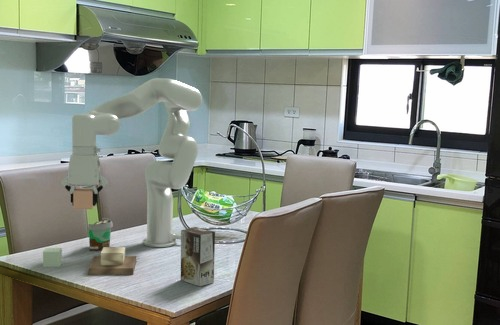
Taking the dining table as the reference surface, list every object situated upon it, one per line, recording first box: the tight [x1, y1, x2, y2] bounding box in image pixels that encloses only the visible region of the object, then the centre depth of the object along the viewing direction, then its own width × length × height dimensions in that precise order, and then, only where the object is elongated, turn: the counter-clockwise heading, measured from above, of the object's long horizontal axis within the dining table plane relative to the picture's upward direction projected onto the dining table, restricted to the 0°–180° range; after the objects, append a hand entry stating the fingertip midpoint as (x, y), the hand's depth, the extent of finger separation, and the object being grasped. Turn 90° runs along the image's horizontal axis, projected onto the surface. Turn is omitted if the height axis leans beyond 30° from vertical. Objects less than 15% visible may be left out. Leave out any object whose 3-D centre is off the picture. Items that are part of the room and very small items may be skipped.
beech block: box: [100, 246, 126, 265], centre depth 198 cm, size 7×7×4 cm
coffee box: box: [180, 226, 216, 287], centre depth 186 cm, size 9×6×16 cm
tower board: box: [87, 255, 137, 276], centre depth 198 cm, size 14×14×2 cm
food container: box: [87, 217, 114, 252], centre depth 220 cm, size 12×6×10 cm, turn 168°
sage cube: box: [42, 247, 63, 268], centre depth 199 cm, size 5×5×5 cm
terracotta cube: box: [72, 187, 95, 210], centre depth 202 cm, size 6×6×6 cm
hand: (84, 204), depth 202 cm, fingers closed on terracotta cube, 6 cm apart
